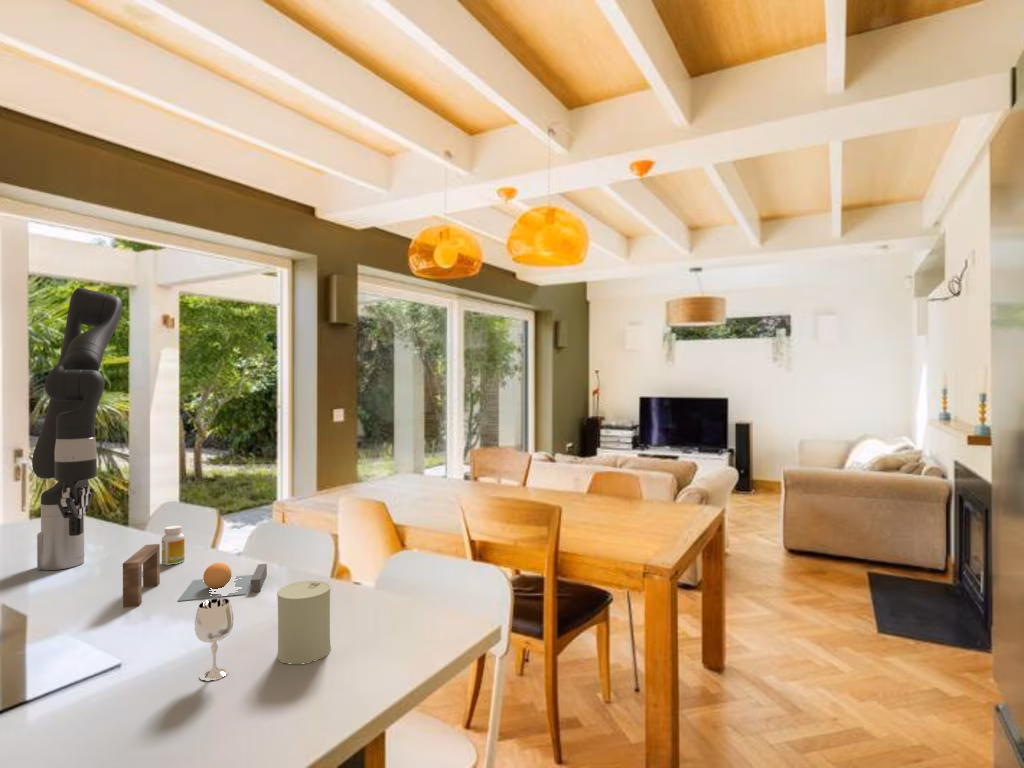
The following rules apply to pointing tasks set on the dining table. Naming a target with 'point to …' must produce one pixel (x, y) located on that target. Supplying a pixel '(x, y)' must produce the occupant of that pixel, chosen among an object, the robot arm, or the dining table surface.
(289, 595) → the can
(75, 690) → the dining table surface
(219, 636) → the wineglass
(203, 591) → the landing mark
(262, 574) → the stopper
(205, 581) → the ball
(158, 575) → the bridge
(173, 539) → the supplement bottle
